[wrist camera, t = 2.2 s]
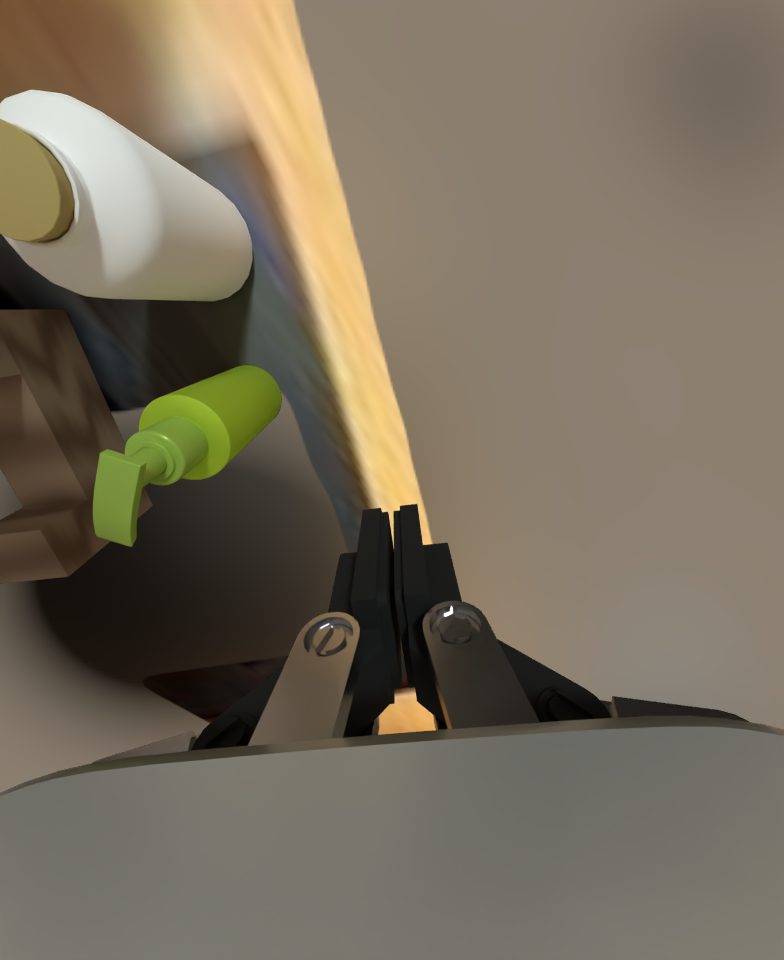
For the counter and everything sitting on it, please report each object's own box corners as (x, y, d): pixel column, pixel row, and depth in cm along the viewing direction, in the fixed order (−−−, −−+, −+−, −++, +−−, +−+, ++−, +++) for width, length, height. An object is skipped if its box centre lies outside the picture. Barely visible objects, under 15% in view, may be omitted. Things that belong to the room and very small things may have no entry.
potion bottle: (244, 180, 29) (62, 25, 13) (265, 298, 33) (143, 290, 17) (140, 188, 30) (-167, 45, 13) (172, 304, 33) (-40, 303, 17)
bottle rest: (0, 318, 34) (-187, 324, 23) (64, 309, 33) (-94, 310, 22) (101, 511, 42) (-1, 583, 31) (152, 505, 42) (68, 576, 31)
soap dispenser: (213, 421, 38) (48, 529, 20) (227, 355, 35) (52, 408, 17) (270, 442, 39) (164, 564, 20) (288, 379, 36) (185, 454, 18)
